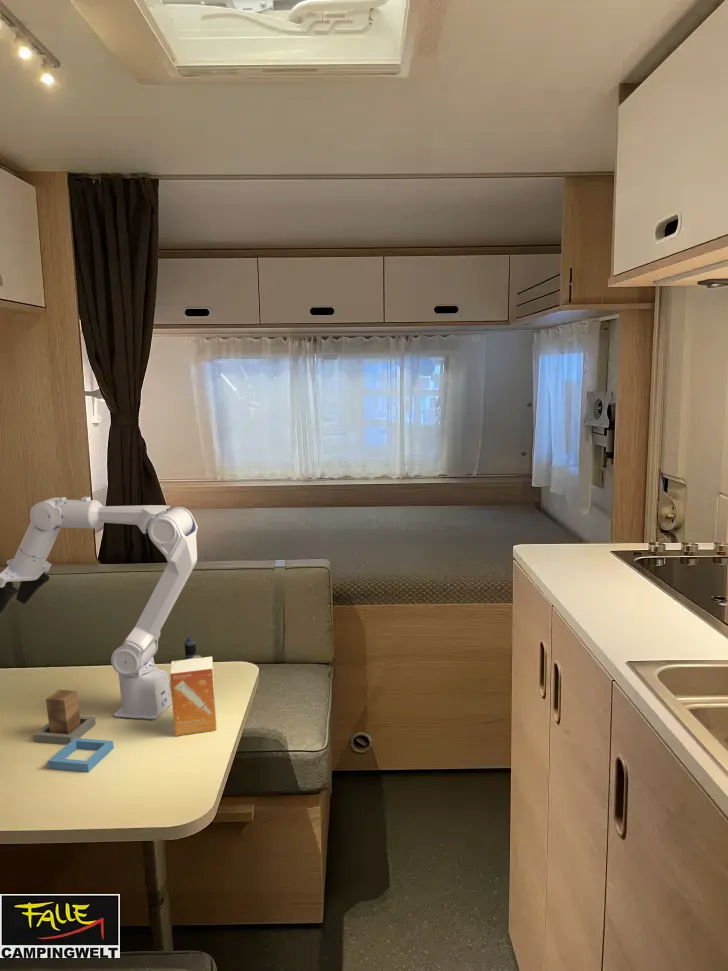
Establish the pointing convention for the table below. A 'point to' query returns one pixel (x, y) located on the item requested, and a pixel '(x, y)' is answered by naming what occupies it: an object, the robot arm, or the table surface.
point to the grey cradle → (48, 737)
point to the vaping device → (190, 649)
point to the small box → (193, 695)
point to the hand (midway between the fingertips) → (8, 606)
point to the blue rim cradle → (79, 765)
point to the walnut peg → (63, 712)
